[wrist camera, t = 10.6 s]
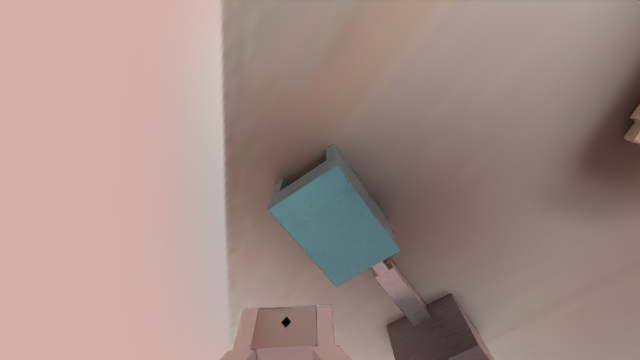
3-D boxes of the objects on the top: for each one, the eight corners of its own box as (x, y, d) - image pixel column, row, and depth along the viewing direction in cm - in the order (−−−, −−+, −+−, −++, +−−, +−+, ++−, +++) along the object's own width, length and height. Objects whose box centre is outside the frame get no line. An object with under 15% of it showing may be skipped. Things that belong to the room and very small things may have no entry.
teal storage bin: (276, 182, 25) (268, 210, 21) (333, 143, 24) (336, 164, 20) (333, 250, 28) (336, 286, 24) (387, 218, 27) (400, 250, 23)
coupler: (332, 262, 28) (336, 319, 23) (400, 222, 27) (424, 272, 21) (416, 360, 33) (437, 426, 28) (478, 331, 32) (513, 395, 26)
